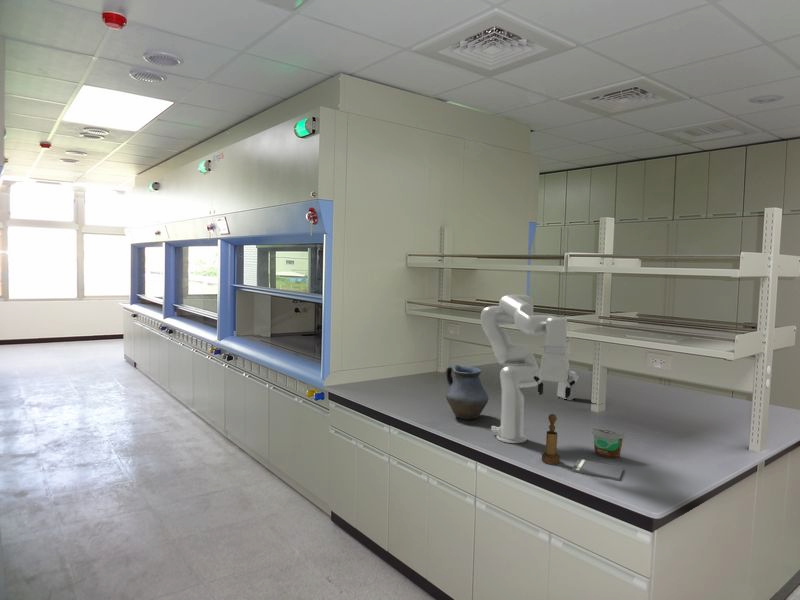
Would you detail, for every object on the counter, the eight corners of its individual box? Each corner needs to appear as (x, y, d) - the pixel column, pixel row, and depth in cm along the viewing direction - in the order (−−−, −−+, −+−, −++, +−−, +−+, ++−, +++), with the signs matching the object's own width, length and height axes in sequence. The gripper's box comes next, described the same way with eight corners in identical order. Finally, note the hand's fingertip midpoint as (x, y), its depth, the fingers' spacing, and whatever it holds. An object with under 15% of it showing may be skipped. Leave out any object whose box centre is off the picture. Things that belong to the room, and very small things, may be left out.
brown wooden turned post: (558, 465, 200) (560, 417, 199) (540, 462, 202) (542, 415, 201) (560, 459, 206) (562, 413, 205) (542, 457, 208) (544, 411, 207)
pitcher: (476, 425, 248) (478, 372, 247) (434, 417, 260) (436, 366, 258) (493, 416, 265) (495, 365, 264) (454, 408, 277) (455, 360, 276)
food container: (587, 454, 212) (588, 429, 212) (591, 450, 217) (592, 426, 217) (620, 461, 205) (621, 436, 205) (623, 457, 210) (625, 432, 210)
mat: (571, 471, 194) (571, 468, 194) (578, 461, 205) (578, 458, 205) (619, 480, 186) (619, 477, 186) (623, 469, 197) (623, 467, 197)
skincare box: (556, 397, 308) (557, 370, 307) (566, 396, 311) (567, 369, 310) (566, 401, 300) (567, 372, 299) (576, 400, 303) (577, 372, 302)
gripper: (529, 349, 202) (528, 394, 203) (577, 353, 194) (575, 400, 195) (535, 347, 209) (533, 391, 210) (581, 351, 200) (579, 396, 201)
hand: (553, 395), depth 202 cm, fingers open, 9 cm apart
